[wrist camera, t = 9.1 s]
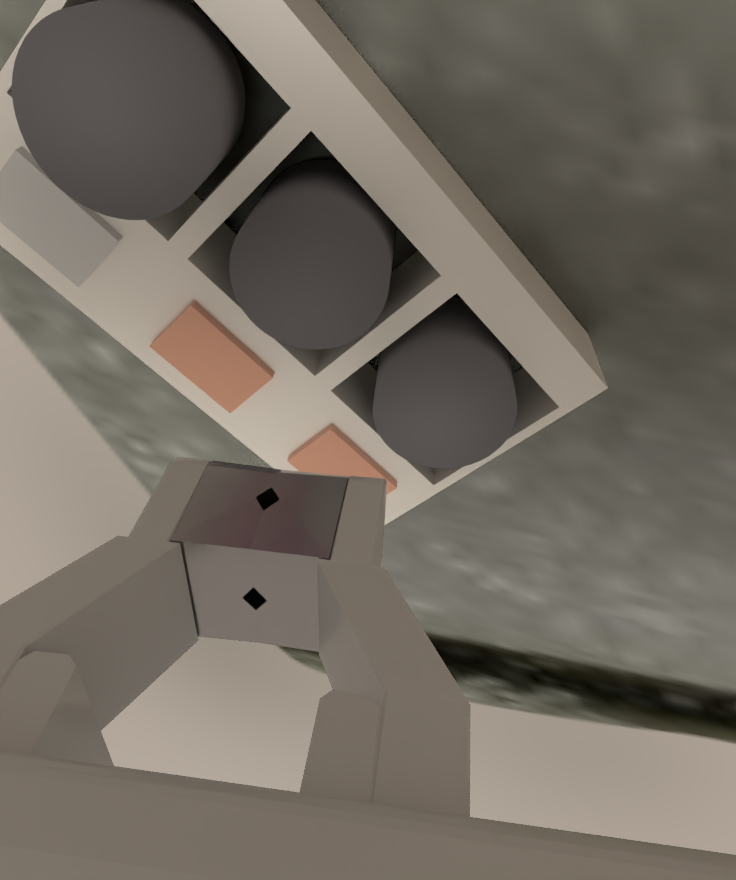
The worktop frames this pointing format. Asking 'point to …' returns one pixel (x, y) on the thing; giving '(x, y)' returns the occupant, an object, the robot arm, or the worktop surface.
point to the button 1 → (128, 103)
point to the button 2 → (445, 390)
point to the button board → (210, 242)
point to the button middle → (313, 258)
